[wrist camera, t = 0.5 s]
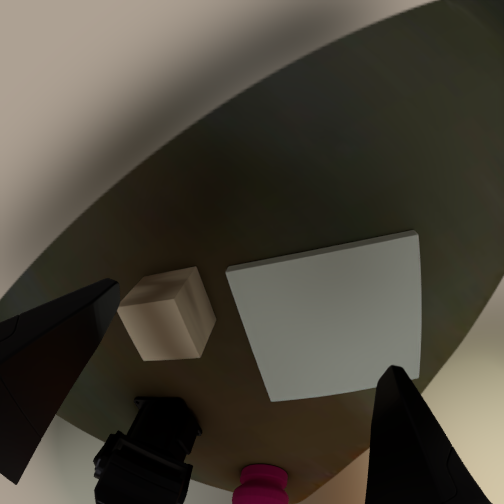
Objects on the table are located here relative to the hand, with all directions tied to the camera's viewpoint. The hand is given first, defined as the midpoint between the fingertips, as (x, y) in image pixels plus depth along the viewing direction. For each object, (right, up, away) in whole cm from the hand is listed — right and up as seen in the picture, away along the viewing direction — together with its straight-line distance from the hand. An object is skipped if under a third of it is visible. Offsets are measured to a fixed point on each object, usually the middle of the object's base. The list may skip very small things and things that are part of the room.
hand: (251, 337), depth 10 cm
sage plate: (+7, -3, +16) cm, 17 cm away
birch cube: (-6, -1, +17) cm, 18 cm away
